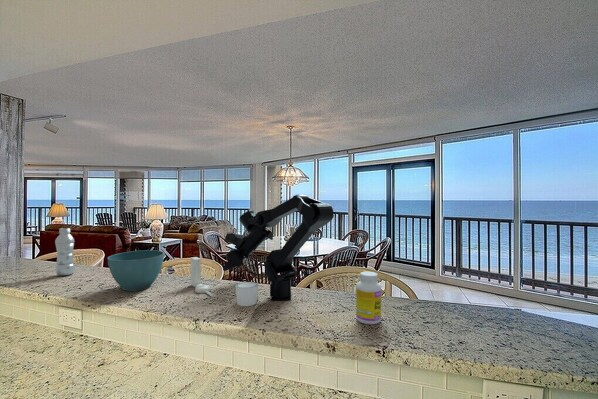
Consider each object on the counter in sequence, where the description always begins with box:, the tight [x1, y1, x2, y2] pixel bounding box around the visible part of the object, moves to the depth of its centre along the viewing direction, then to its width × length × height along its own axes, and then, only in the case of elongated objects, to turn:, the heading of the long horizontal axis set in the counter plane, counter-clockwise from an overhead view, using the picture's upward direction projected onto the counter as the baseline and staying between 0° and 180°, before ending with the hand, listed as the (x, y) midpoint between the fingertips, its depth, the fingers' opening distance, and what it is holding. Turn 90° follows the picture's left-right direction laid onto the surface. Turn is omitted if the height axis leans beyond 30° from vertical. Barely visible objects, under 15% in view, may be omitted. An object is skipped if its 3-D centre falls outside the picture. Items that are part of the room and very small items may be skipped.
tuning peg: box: [190, 256, 214, 298], centre depth 102 cm, size 5×17×10 cm, turn 39°
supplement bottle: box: [355, 271, 382, 325], centre depth 81 cm, size 7×7×13 cm
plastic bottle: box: [54, 227, 76, 277], centre depth 126 cm, size 6×7×20 cm
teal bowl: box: [107, 249, 165, 292], centre depth 109 cm, size 18×18×12 cm
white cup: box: [235, 281, 259, 309], centre depth 90 cm, size 7×7×7 cm
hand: (223, 270), depth 108 cm, fingers closed
